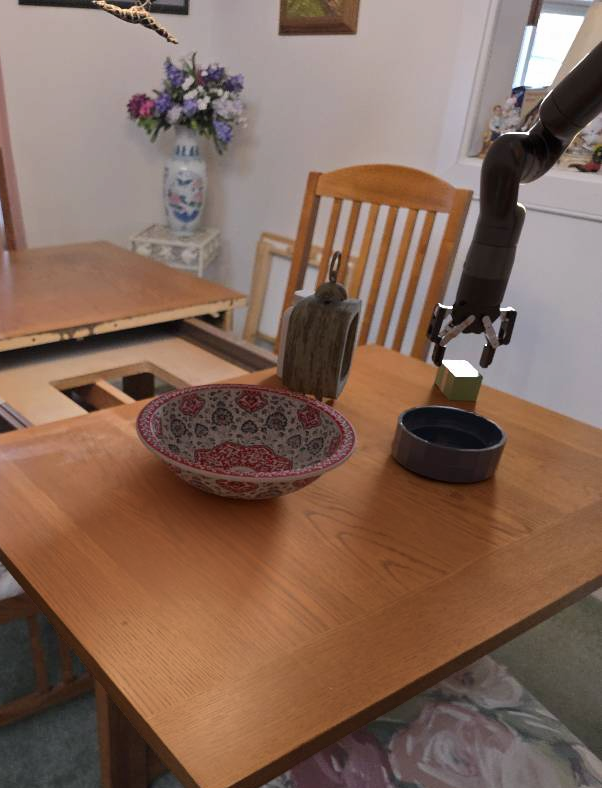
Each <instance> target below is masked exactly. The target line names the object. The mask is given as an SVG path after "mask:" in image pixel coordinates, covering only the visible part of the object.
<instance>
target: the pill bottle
mask: <svg viewBox="0 0 602 788" xmlns="http://www.w3.org/2000/svg"><path fill="white" fill-rule="evenodd" d="M315 291H316V290H309V289H300V290H296V291H294V293H293V296H292V302H291V305H292V306H289V307H288V308H286V309H285V310H284V312H283V315H282V322H281V329H280V336H279V337H280V339H279V345H278V346H279V347H278V353H277V361H276V375H277V376H278V377H279V378H280V379H282V370H283V361H284V352H285V344H286V336H287V329H288V323H289V318H290V315H291V312H292V310H293V309H294V307H295V306H296V305H297V304H298V302H299V301H300V300H302V299H303V298H305V297H307V296H310V295H313V294H314V293H315Z"/></svg>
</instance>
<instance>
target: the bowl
mask: <svg viewBox="0 0 602 788" xmlns="http://www.w3.org/2000/svg"><path fill="white" fill-rule="evenodd" d="M507 440H508V436H507V433H506V431H505V430H504V429H503V428H502V426H501V425H499V423H497V422H495V421H493V420H492V419H490V418H489V417H486V416H483V415H481V414H478V413H477V412H473V411H469V410H466V409H462V408H457V407H451V406H445V405H444V406H443V405H422V406H413V407H411V408H408V409H405V410H403V411H402V412H401V413H400V414H399V415H398V416H397V420H396V425H395V429H394V433H393V438H392V442H391V449H390V453H391V454H392V457H394V459H395V461H396V462H398V463H399V464H400V465H401V466H402V467H403V468H406V469H408V470H409V471H412V472H414V473H415V474H418V475H420V476H423V477H427V478H430V479H434V480H439V481H443V482H450V483H475V482H481V481H486V480H487V479H489V478H492V477H493V476H494V475H495V474H496V472H497V470H498V469H499V465H500V463H501V459H502V457H503V453H504V450H505V447H506V445H507V444H506V443H507Z"/></svg>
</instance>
